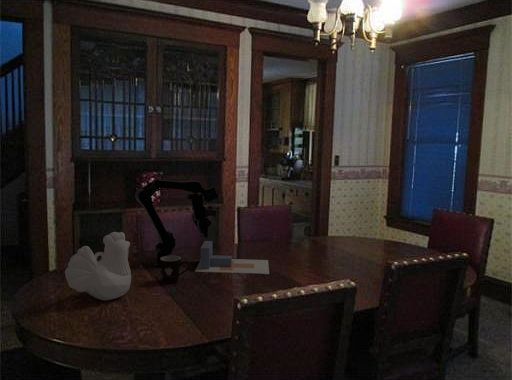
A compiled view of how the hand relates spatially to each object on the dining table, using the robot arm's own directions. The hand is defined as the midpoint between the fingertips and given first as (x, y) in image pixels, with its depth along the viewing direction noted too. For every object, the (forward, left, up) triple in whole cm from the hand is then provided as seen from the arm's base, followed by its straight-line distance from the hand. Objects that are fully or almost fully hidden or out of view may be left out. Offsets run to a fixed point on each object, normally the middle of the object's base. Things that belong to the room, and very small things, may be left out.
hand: (204, 235), depth 213 cm
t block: (-7, -10, -12) cm, 17 cm away
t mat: (-5, -17, -13) cm, 22 cm away
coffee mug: (-35, 0, -13) cm, 37 cm away
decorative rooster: (-61, +18, -13) cm, 65 cm away
